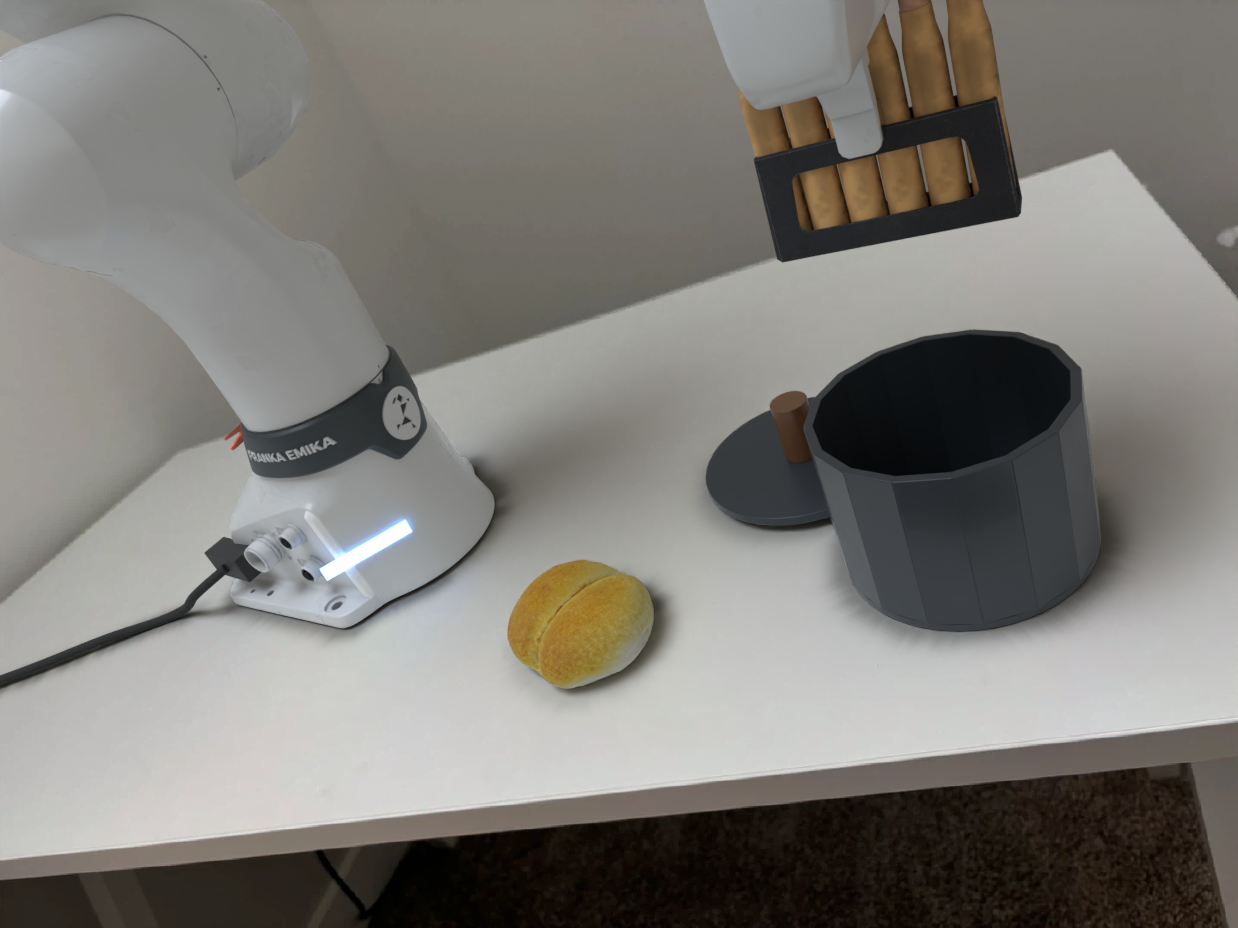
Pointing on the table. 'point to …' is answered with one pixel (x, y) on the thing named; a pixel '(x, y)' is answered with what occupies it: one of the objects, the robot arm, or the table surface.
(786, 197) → the ammunition clip
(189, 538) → the table surface
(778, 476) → the lid
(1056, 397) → the pot
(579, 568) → the bread roll
